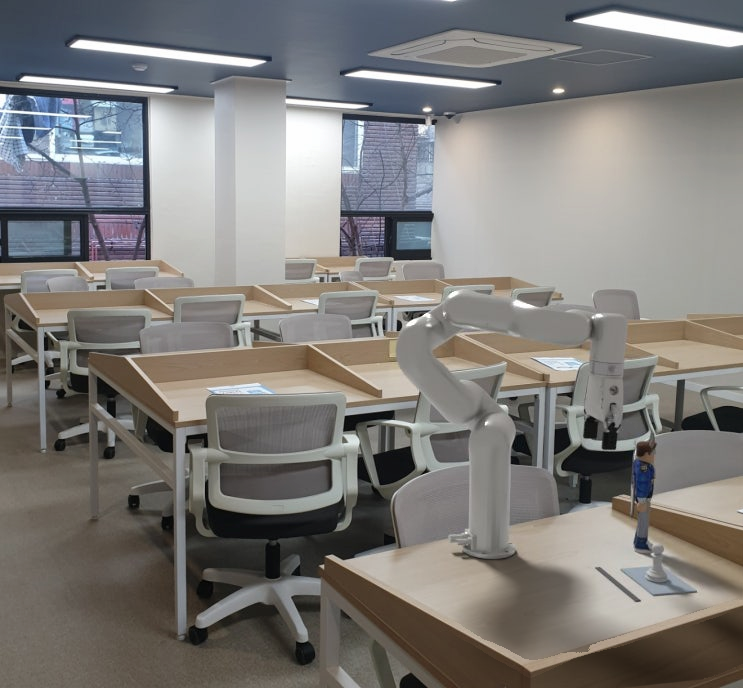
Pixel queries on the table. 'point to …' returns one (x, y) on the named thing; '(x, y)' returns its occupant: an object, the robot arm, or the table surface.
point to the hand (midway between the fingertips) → (599, 443)
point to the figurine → (643, 491)
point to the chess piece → (657, 565)
